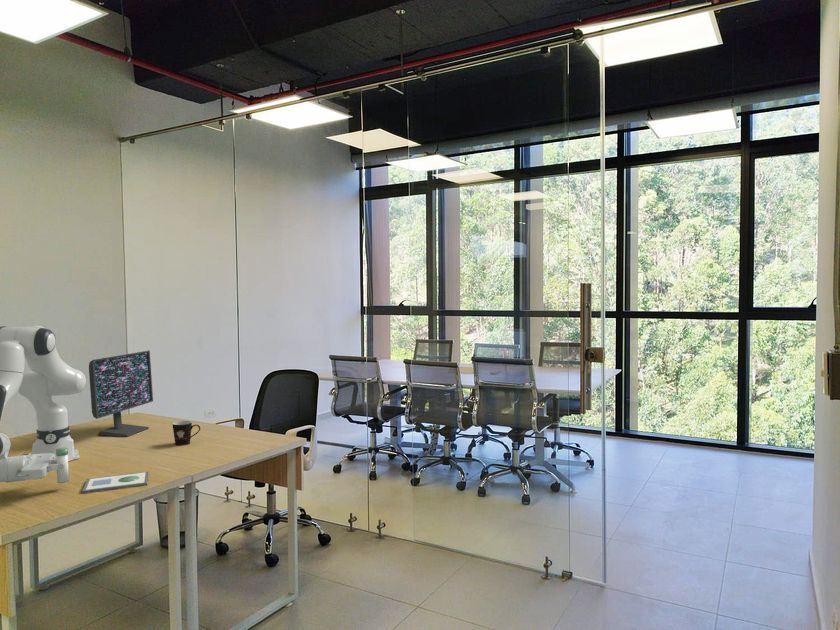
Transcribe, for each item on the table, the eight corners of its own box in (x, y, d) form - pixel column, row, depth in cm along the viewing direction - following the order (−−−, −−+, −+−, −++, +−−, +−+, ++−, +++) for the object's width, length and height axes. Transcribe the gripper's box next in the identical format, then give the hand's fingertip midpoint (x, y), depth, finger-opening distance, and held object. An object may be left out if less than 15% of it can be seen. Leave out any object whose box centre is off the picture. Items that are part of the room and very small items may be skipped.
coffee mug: (168, 445, 269) (168, 424, 268) (181, 440, 277) (180, 420, 277) (189, 447, 266) (189, 425, 265) (201, 442, 274) (201, 421, 274)
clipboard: (87, 480, 219) (87, 478, 219) (148, 473, 227) (148, 471, 227) (82, 493, 205) (82, 490, 205) (147, 485, 213) (147, 482, 213)
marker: (58, 480, 211) (56, 448, 210) (69, 479, 212) (68, 447, 212) (56, 483, 207) (54, 451, 207) (68, 482, 209) (67, 449, 208)
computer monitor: (109, 444, 272) (106, 360, 271) (78, 442, 275) (75, 359, 273) (163, 423, 315) (162, 350, 314) (137, 422, 318) (134, 350, 316)
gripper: (12, 468, 195) (59, 463, 200) (26, 452, 213) (69, 447, 219) (13, 486, 195) (60, 480, 201) (26, 468, 214) (70, 464, 219)
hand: (65, 463), depth 210 cm, fingers closed on marker, 4 cm apart
